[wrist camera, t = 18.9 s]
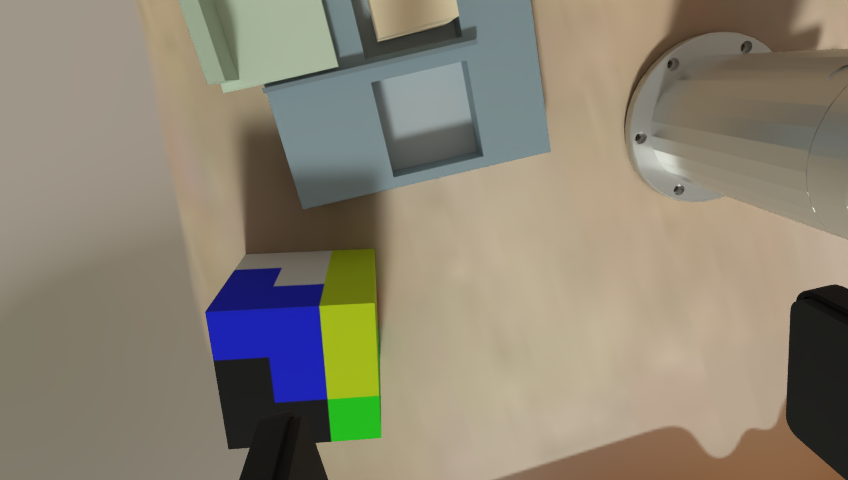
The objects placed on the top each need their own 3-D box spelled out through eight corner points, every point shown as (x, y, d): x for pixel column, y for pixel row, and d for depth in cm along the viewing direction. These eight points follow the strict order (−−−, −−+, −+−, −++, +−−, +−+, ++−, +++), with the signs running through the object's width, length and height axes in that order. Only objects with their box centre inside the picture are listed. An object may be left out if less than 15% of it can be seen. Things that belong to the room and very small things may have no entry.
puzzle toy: (245, 253, 39) (205, 311, 30) (374, 248, 40) (374, 302, 31) (261, 365, 43) (228, 449, 33) (379, 357, 43) (381, 437, 34)
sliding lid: (309, -49, 30) (300, -65, 27) (339, 66, 32) (334, 66, 29) (187, -22, 30) (162, -34, 26) (226, 92, 32) (207, 95, 29)
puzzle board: (504, -93, 33) (519, -112, 30) (537, 145, 39) (554, 153, 35) (237, -32, 33) (221, -45, 29) (308, 199, 38) (301, 212, 35)
